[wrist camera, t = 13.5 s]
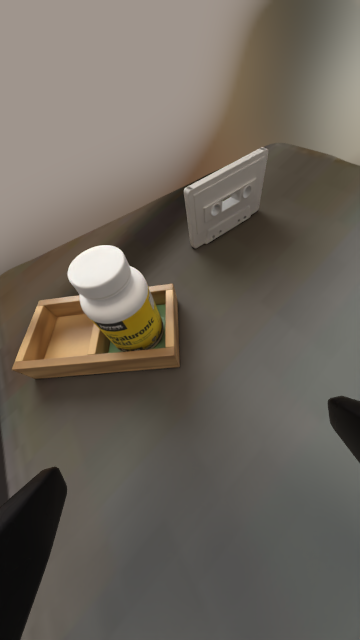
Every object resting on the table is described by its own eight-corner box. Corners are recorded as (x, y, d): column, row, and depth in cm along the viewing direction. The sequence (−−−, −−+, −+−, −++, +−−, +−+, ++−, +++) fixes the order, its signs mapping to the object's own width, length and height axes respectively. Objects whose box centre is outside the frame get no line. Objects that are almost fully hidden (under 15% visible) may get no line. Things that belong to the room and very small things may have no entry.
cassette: (196, 251, 29) (190, 193, 22) (188, 245, 30) (180, 187, 23) (261, 211, 31) (272, 148, 25) (251, 206, 32) (260, 145, 26)
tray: (179, 367, 21) (174, 355, 18) (34, 379, 22) (11, 369, 20) (177, 300, 25) (173, 283, 22) (56, 314, 26) (39, 300, 24)
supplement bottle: (119, 364, 21) (55, 308, 13) (111, 321, 24) (55, 252, 15) (171, 345, 21) (141, 277, 13) (157, 305, 24) (126, 228, 16)
